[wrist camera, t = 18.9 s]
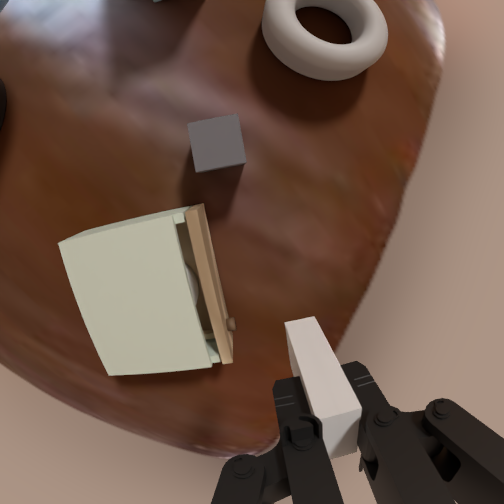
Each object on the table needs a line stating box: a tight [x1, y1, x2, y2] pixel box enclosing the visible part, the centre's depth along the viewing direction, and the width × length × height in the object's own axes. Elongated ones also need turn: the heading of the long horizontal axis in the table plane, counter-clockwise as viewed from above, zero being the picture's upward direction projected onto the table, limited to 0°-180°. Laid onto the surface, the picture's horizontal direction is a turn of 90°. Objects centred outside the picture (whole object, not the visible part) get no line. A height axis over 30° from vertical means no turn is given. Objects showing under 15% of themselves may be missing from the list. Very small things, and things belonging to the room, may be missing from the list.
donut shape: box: [262, 0, 388, 81], centre depth 26 cm, size 15×15×7 cm
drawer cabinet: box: [58, 205, 221, 375], centre depth 33 cm, size 15×18×7 cm
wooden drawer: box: [175, 203, 236, 364], centre depth 33 cm, size 16×18×6 cm
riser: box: [187, 114, 246, 172], centre depth 30 cm, size 5×5×6 cm
